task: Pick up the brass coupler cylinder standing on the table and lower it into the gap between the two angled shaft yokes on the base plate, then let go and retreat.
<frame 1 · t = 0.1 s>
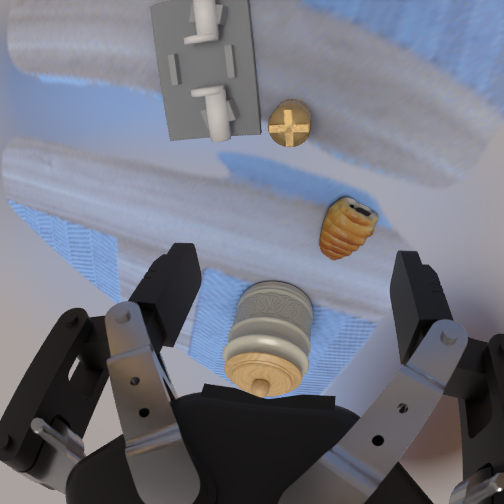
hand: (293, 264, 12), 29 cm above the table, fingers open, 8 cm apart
jar: (276, 306, 55), on the table
shaft rig: (206, 64, 33), on the table
coupler: (293, 116, 36), on the table
pastry: (347, 222, 43), on the table
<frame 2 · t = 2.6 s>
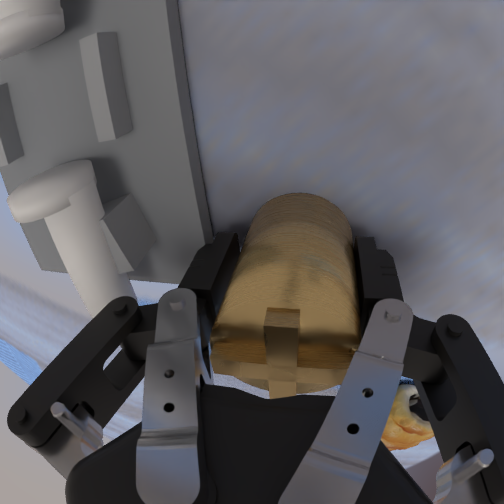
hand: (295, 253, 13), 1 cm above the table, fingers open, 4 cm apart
shaft rig: (67, 97, 11), on the table
coupler: (300, 240, 13), on the table
pastry: (395, 403, 21), on the table
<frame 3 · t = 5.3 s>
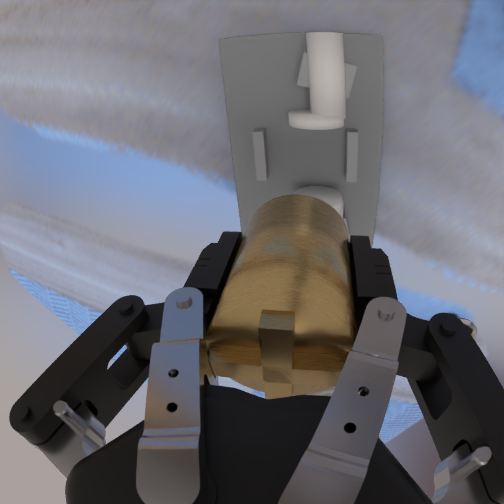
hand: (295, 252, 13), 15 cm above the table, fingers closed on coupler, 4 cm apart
shaft rig: (306, 148, 25), on the table
coupler: (297, 241, 13), point 14 cm above the table, touching gripper
when the fingers open (3 cm above the table, at t = 7.7 s): coupler drops 1 cm, resting on shaft rig.
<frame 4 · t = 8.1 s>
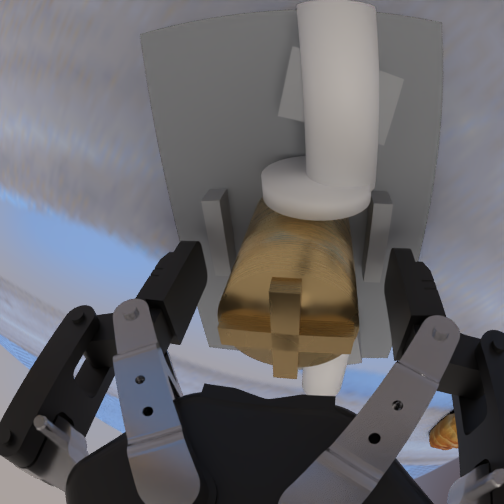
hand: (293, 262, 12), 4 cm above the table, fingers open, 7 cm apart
shaft rig: (299, 217, 15), on the table
coupler: (300, 226, 14), point 1 cm above the table, touching shaft rig
pastry: (466, 413, 25), on the table
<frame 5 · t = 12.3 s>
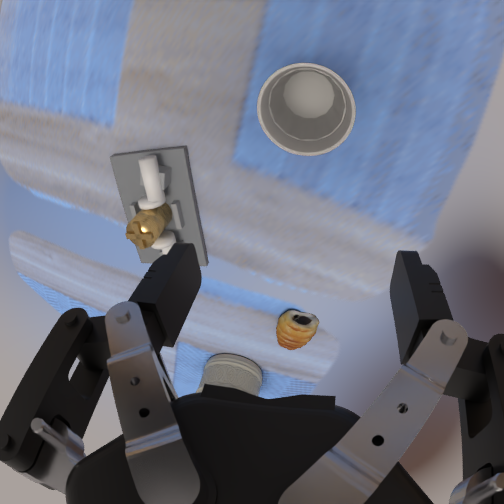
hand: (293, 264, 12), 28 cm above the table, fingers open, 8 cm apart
jar: (234, 368, 68), on the table
shaft rig: (161, 209, 46), on the table
coupler: (158, 212, 45), point 1 cm above the table, touching shaft rig
pastry: (297, 323, 56), on the table
cup: (309, 93, 33), on the table
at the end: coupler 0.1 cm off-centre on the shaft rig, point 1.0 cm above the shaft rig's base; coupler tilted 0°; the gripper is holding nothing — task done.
